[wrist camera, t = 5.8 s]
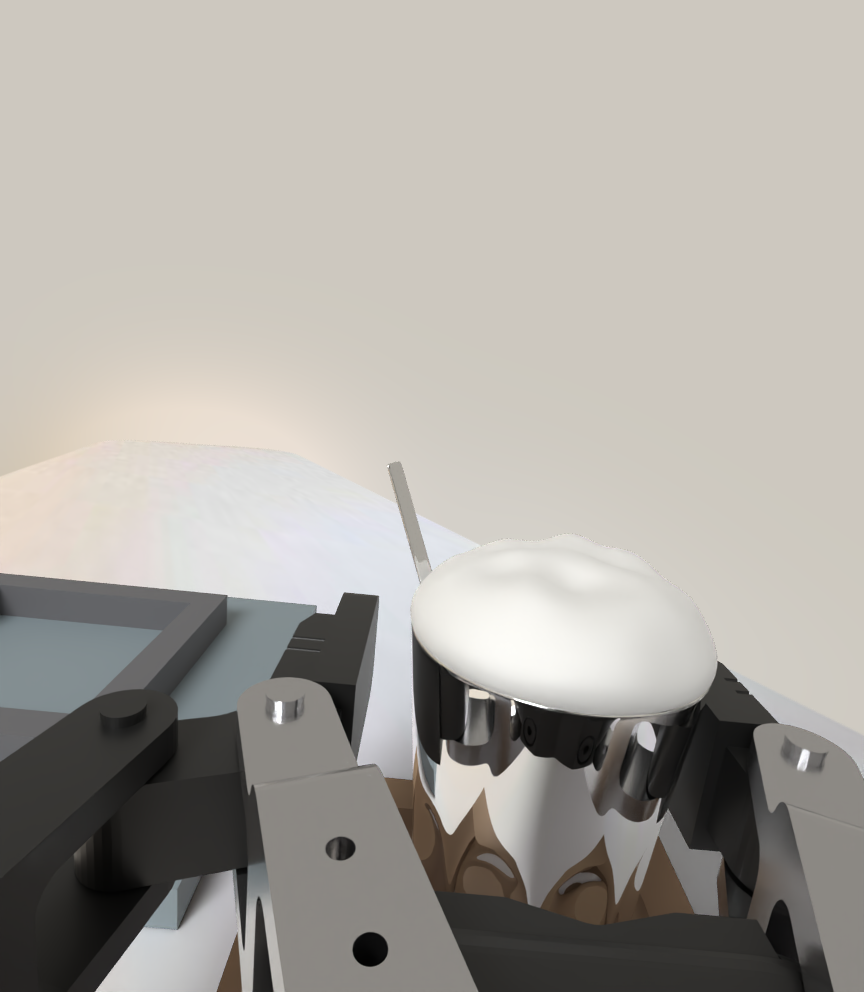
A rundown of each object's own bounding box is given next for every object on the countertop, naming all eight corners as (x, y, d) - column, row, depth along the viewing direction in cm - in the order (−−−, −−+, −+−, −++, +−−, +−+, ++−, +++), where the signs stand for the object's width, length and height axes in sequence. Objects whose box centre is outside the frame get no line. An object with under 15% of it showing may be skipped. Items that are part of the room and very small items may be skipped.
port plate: (315, 627, 26) (318, 579, 25) (176, 929, 12) (177, 838, 12) (-34, 593, 25) (-37, 544, 25) (-577, 861, 12) (-609, 766, 11)
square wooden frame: (634, 840, 16) (642, 801, 15) (888, 1460, 7) (917, 1393, 7) (292, 809, 15) (294, 768, 15) (101, 1399, 7) (98, 1329, 6)
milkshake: (403, 861, 14) (447, 449, 12) (635, 972, 12) (739, 497, 10) (281, 1052, 10) (312, 481, 8) (599, 1268, 8) (762, 573, 6)
